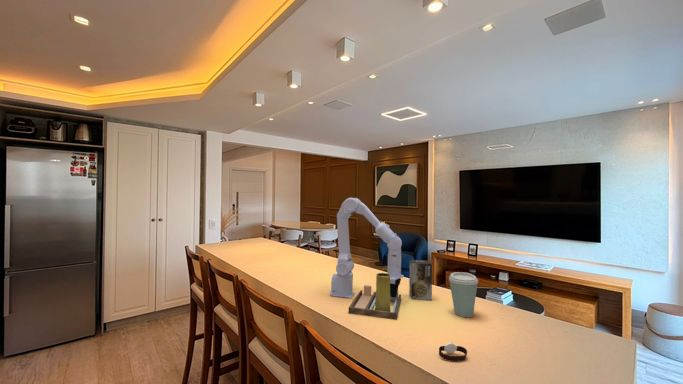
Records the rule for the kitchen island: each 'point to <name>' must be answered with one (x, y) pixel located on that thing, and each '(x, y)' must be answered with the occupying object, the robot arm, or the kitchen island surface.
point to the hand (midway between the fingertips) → (393, 296)
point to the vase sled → (390, 299)
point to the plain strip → (364, 297)
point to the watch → (451, 349)
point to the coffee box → (420, 280)
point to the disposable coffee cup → (463, 293)
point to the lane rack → (373, 313)
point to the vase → (382, 292)
